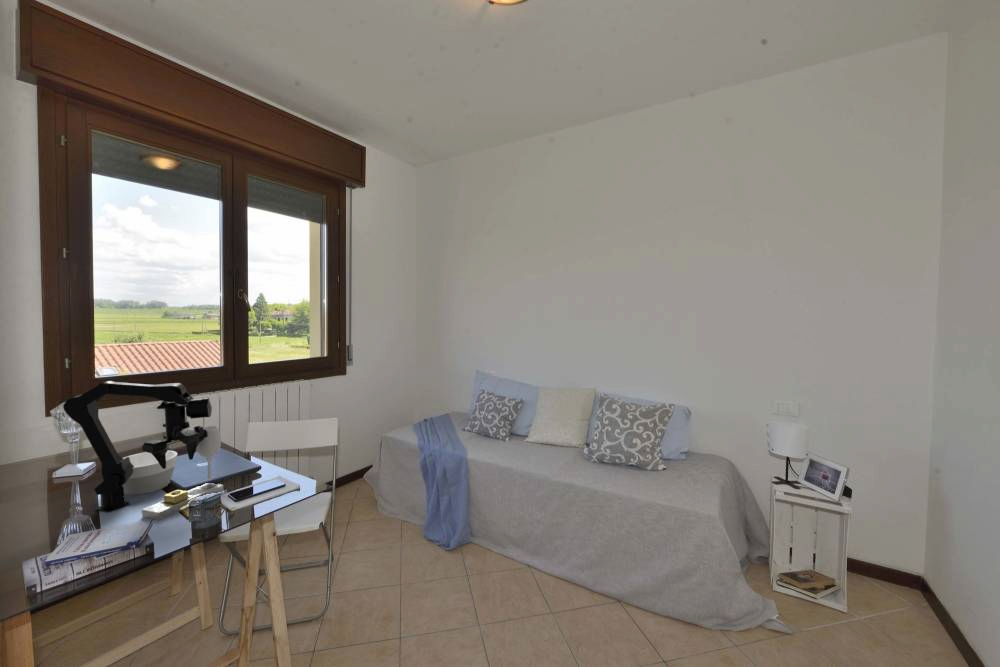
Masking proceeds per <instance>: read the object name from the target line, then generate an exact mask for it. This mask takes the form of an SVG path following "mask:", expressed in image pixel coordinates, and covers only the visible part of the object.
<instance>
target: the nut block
mask: <svg viewBox="0 0 1000 667" xmlns="http://www.w3.org/2000/svg"><path fill="white" fill-rule="evenodd" d="M187 499H188V490H182V489H176V490H173V491H171V492H168V493H166V494H164V495H163V501H164V504H169V505H175V504H178V503H180V502H183V501H185V500H187Z"/></svg>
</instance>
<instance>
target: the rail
mask: <svg viewBox="0 0 1000 667" xmlns="http://www.w3.org/2000/svg"><path fill="white" fill-rule="evenodd" d="M187 491H188V499H187V500H185V501H183V502H180V503H178V504H175V505H169V504H164V500H162V501H159V502H157V503H154V504H152V505H149V506H147V507H145V508H142V509H141V514H142V518H144V519H145V518H146V519H151V520H156V521H161V520H163V519H166V518H167V517H170V516H172V515H174V514H178V513H179V512H180V511H179V509H180V508H181V507H183V506H185V505H187V504H188V502H189V501H190V500H191V499H193V498H196V497H199V496H203V495H206V494H211V493H218V492H222V491H224V484H220V483H218V484H214V483H205V484H203V485H201V486H196V487H194V488H191V489H189V490H187ZM222 493H223V492H222Z"/></svg>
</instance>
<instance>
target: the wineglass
mask: <svg viewBox="0 0 1000 667" xmlns="http://www.w3.org/2000/svg"><path fill="white" fill-rule="evenodd" d="M203 429H205V430H206V431H207V432H208V437H205V438H204V440H202V441H201V442H200V443H199V444H198V446H197V448H196V451H195V452H197V453H198V455H200V456H202V457H204V458H206V460H207V477H206V478H207V479H210V478H213V477H214V476H213V474H212V458H213V457H214V456H215V455H216V454H218V452H219V450H220V449H221V446H222V437H221V431H220V428H219V426H217V425H207V426H203Z"/></svg>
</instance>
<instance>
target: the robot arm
mask: <svg viewBox="0 0 1000 667" xmlns="http://www.w3.org/2000/svg"><path fill="white" fill-rule="evenodd" d="M108 395H113V396H114V395H117V396H132V397H146V398H153V399H155V400H157V401H161V403H160V404H159V405H158V406H157V407H156V409H157V410H162V409H163V410H164V423H162V427H163V428H165V435H163V439H164V440H160V439H152V440H149V441H145V442H144V443H143V444H142V447H141V449H142V450H141V451H142V452H147V453H151V454H152V455H153V456H154V457H155V458H156V460H157V461H158V463H159V464H160V466H161V467H162V468H163V469H165V468H166V456H165V454H166V452H167V451H169V449H167V447H168V446H170V445H173V444H175V443H180V442H181V443H182V444H183V445H186V450H187V456H188V460H191V461H192V460H193V458H194V456H195V454H196V452H197V451H196V448H197V446H198V444H199V443H200V442H201V441H202V440H204V438H205V437H208V432H207V431H206V430H205V429H203V427H204V426H203V425H202V424H200V425H196V426H193V427H191V426H190V422H189V421H187V419H186V417H187V418H189V419H192V420H193V419H203V418H211V416H212V412H213V410H212V409H213V406H212V404H211V401H210V398H209V397H204V398H197V399H196V398H195V399H194V397H193V396H192V395H191V394H190V393H189V392H188V391H187V388H186V386H185V384H182V383H180V382H175V383H174V382H173V383H172V382H171V383H159V384H146V383H145V384H144V383H135V382H134V383H133V382H132V383H131V382H120V381H118V382H117V381H113V380H107V381H104V382H101V383H98V384H97V385H96V386H95V387H93V388H91V389H89V390H88V391H86V392H85V393H83V394H82V393H81V394H79V395H76V396H73V397H71V398H68V399H67V400H66V401H64V404H63V406H62V407H63V410H64V412H65V414H66V415H67V416H68V417H69V418H70V420H73V421H74V422H76V423H77V424H78V425H79V426H80V427H81V429H82V431H83V432H84V434H85V436H86V438H87V440H88V442H89V443H90V445H91V447H92V449H93V451H94V453H95V454H96V456H97V458H98V460H99V462H100V467H101V468H100V469H101V470H100V472H101V477H102V482H101V483H99V484H98V485H97V486H96V487H95V488H94V492H95V494H96V495H100V496H99V497H100V506H97V507H95V510H96V511H101V512H105V513H110V512H112V511H114V510H117V509H119V508H123V507H125V506H128V505H130V504H131V502H129V501H126V500H125V494H124V488H123V486H122V485H123V484H125V483H126V481H127V479H128V478H129V477H131V475H132V473H133V467H134V466H133V465H132V464H131V462H130V459H129V457H127V456H125V457H126V458H125V459H123V458H124V457H122V456H120V455H119V454H118V451H117V450H116V448H115V446H114V444H113V442H112V440H111V439H110V437H109V435H108V433H107V431H106V429H105V428H104V426H103V424H102V422H101V419H100V418H99V406H98V402H99V401H101V400H102V399H104V398H105V397H106V396H108Z"/></svg>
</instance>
